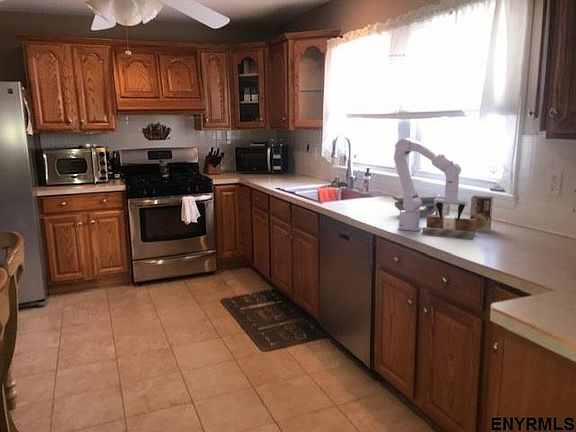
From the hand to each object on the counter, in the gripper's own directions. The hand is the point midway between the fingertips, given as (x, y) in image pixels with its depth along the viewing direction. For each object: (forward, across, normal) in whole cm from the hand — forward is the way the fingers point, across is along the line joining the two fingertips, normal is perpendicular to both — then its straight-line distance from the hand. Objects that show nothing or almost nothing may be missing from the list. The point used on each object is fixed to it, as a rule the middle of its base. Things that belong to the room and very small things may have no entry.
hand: (449, 219), depth 219 cm
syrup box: (+7, -7, +22) cm, 24 cm away
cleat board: (+7, 0, -1) cm, 7 cm away
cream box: (+6, 0, 0) cm, 6 cm away
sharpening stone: (+7, -23, +36) cm, 43 cm away
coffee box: (+7, +12, +15) cm, 20 cm away
